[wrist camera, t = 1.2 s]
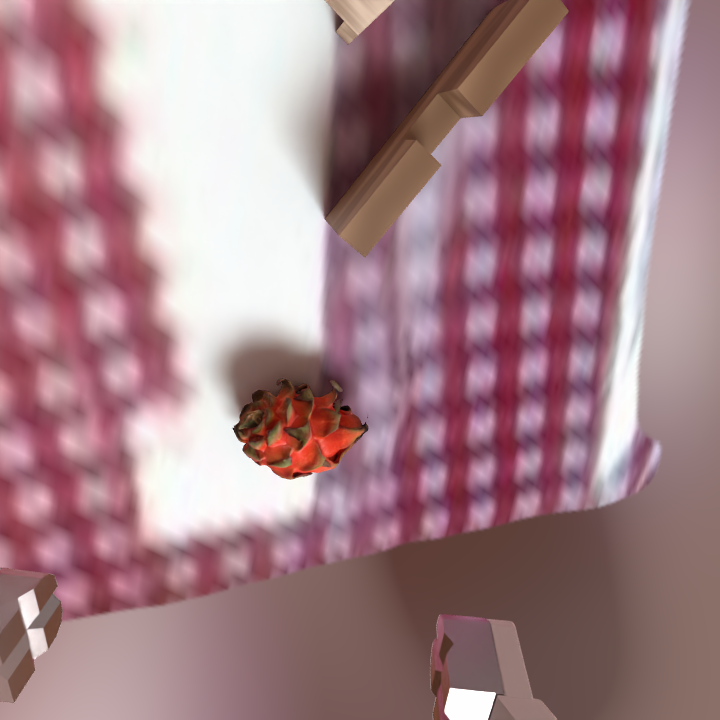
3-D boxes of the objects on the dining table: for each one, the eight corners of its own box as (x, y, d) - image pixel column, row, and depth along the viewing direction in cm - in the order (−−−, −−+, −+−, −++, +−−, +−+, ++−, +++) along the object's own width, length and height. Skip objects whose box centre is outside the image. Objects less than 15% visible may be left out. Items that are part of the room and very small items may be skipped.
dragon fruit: (225, 389, 49) (346, 391, 54) (224, 482, 48) (350, 477, 52) (240, 370, 42) (379, 374, 46) (239, 481, 40) (385, 474, 44)
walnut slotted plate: (324, 219, 44) (338, 235, 36) (492, 8, 40) (545, -20, 33) (346, 237, 45) (364, 257, 37) (512, 33, 41) (568, 11, 34)
